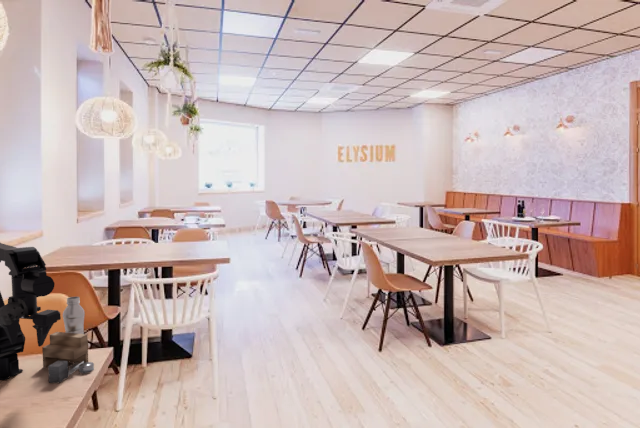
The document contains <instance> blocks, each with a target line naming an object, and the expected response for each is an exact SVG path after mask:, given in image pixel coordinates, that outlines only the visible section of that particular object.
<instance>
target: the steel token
mask: <svg viewBox="0 0 640 428" xmlns="http://www.w3.org/2000/svg"><path fill="white" fill-rule="evenodd" d="M94 370H95V363H94V362H92V361H88V362H86V363H82V364H80V365H79V369H78V371H79V374H89V373H91V372H93V371H94Z"/></svg>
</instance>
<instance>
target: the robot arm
mask: <svg viewBox="0 0 640 428" xmlns="http://www.w3.org/2000/svg"><path fill="white" fill-rule="evenodd" d="M1 262H4V266H6V267H7V268H8V270H10V271H8V275H9V276H10V277H11V292H12V293H11V294H12V295H11V296H8V298H7V304H5V301H4V298H3V295H2V292H1V291H0V381H1V380H2V381H4V380H7V379H10V378H12V377H14V376H16V375H17V374H21V373H22V372H23V371H24V370H23V369H22V368H20V363H19V357H18V354H19V353H23V352H24V349H25V345H26V336H25V334H24V333H23V331H22V327H21V325H20V319H24V320H32V323H33V324H34V325H32V328H34V329H35V330H36V331H35V332H36V339H37V341H36V343H37V346H38V347H43V346H44V343H45V340H46V339H47V338H48V337H47V336H48V335H49V333H50V331H51V329H52V327H53V325H54V324H55V323H57V322H58V321H61V318H62V316H61V312H60V311H59V310H58V309H45V310H42V309H41V308H42V307H41V306H38V299H37V298H40V297H46V296H48V295H50V294H51V293H52V292H53V291H54V289H55V286H56V285H55V281H54V279H53V278H52V277H51V276H49V275H48V274H47V268H46V267H47V264H46V263H45V261H44V260H43V258H42V255H41V253H40V252H39V250H38V249H37V248H36V247H34V246H25V247H24V246H23V247H16V246H12V245H9V244H5V243H2V242H0V263H1ZM39 311H40V312H39Z"/></svg>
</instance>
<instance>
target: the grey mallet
mask: <svg viewBox="0 0 640 428" xmlns="http://www.w3.org/2000/svg"><path fill="white" fill-rule="evenodd" d="M82 363H84V361H77V362H75V363H71V364H70V365H69V362H68V361H56V362H55V363H53V364H51V365H50V366H48V367H47V368H48V382H49V383H51V384H60V383H62V382H63V381H65V380H66V379H68V378H69V376H71V375H72V374H73V373H74V372H76V371H78V370H79V365H80V364H82Z"/></svg>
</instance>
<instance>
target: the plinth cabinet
mask: <svg viewBox="0 0 640 428" xmlns="http://www.w3.org/2000/svg"><path fill="white" fill-rule="evenodd" d="M88 343H89V342H88V334H86V333H84V334H77V333H65V332H63V331H55V332H53V333H50V334H49V344H46V345H45V346H44V345H43V346H41V349H42V351H41V352H42V367H43V368H45V369H46V368H48V366H50V365H51V364H53V363H55V362H56V361H68V363H71V364H73V363H75V362H77V361H84V363H86V362H89V347H88V346H89V344H88Z"/></svg>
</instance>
